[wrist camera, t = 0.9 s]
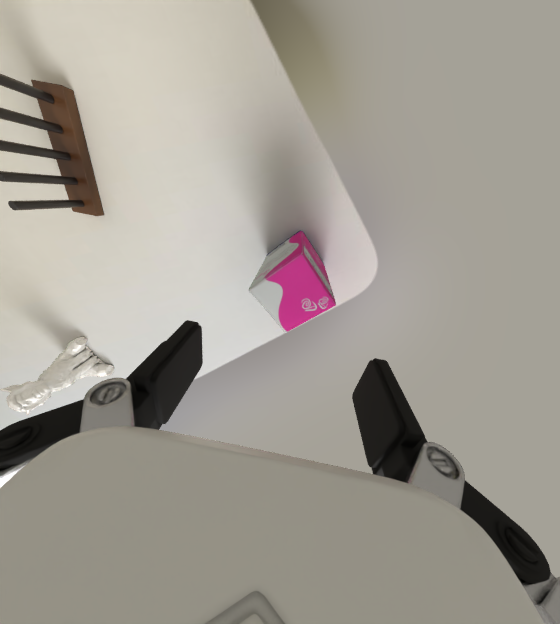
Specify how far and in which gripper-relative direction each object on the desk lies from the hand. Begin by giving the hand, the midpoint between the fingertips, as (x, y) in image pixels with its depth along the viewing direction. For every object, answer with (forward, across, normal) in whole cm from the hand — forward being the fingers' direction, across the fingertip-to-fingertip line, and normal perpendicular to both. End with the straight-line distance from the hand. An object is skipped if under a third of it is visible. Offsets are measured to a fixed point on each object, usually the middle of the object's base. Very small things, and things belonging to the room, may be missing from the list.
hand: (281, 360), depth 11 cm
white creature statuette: (+20, +38, +27) cm, 51 cm away
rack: (+19, +28, -8) cm, 35 cm away
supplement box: (+19, 0, -1) cm, 19 cm away
